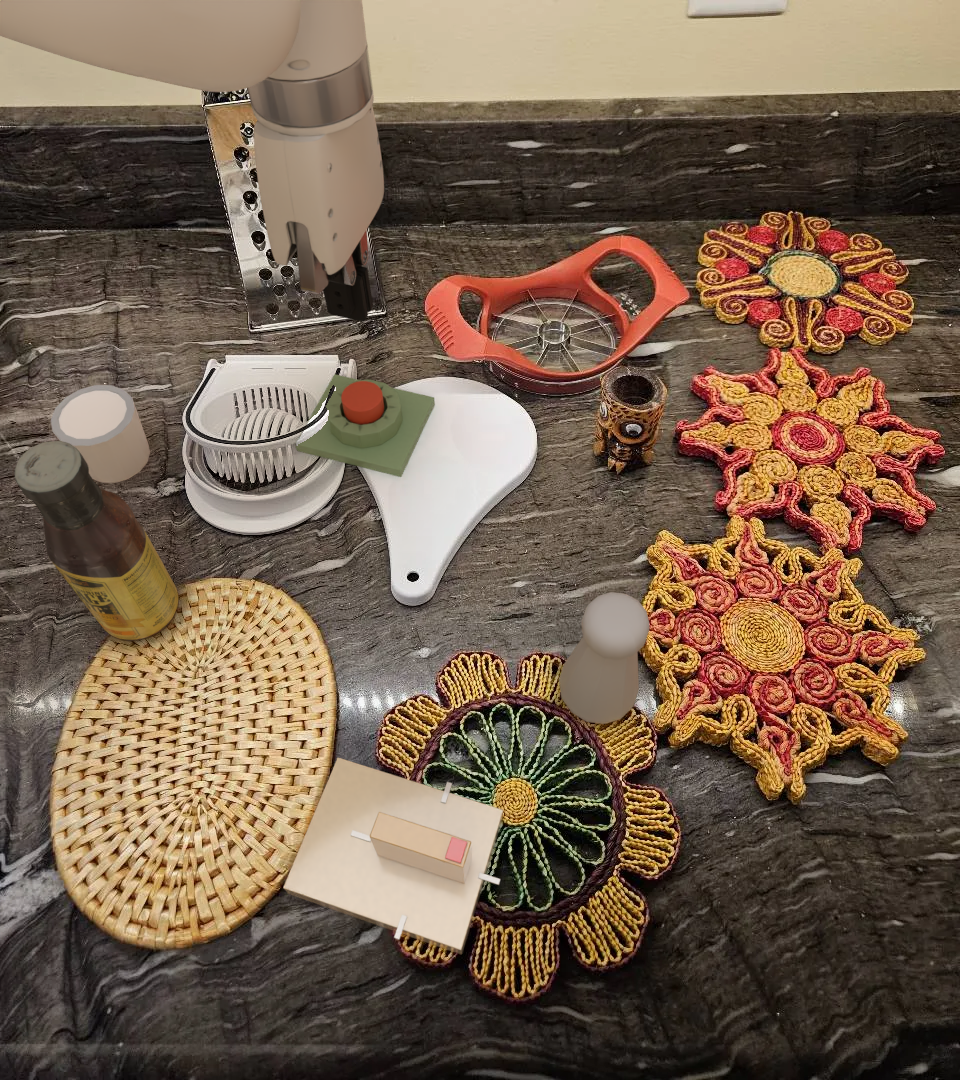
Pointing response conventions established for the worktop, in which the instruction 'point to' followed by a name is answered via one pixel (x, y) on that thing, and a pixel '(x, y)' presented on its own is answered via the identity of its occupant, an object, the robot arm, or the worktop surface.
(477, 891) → the block
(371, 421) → the button
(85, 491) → the sauce bottle
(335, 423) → the button block
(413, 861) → the tap handle
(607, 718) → the salt shaker
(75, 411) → the beige grey-rimmed cylinder
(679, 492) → the worktop surface
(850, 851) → the worktop surface
